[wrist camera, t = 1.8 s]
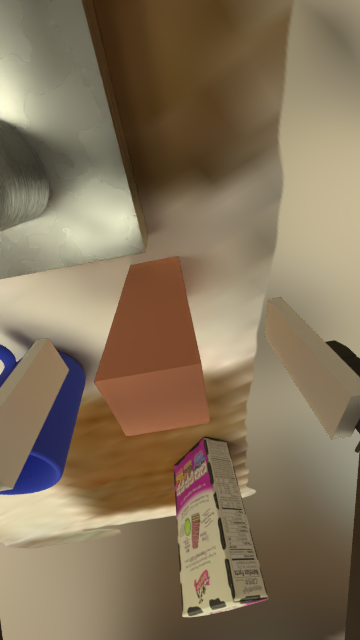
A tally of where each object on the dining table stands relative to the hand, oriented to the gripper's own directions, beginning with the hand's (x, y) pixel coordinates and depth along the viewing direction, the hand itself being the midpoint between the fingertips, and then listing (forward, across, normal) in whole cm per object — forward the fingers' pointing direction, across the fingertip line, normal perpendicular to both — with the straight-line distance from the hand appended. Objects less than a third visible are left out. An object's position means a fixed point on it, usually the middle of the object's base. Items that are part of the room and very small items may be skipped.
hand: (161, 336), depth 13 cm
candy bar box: (+8, 0, -33) cm, 34 cm away
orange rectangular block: (+7, 0, 0) cm, 7 cm away
